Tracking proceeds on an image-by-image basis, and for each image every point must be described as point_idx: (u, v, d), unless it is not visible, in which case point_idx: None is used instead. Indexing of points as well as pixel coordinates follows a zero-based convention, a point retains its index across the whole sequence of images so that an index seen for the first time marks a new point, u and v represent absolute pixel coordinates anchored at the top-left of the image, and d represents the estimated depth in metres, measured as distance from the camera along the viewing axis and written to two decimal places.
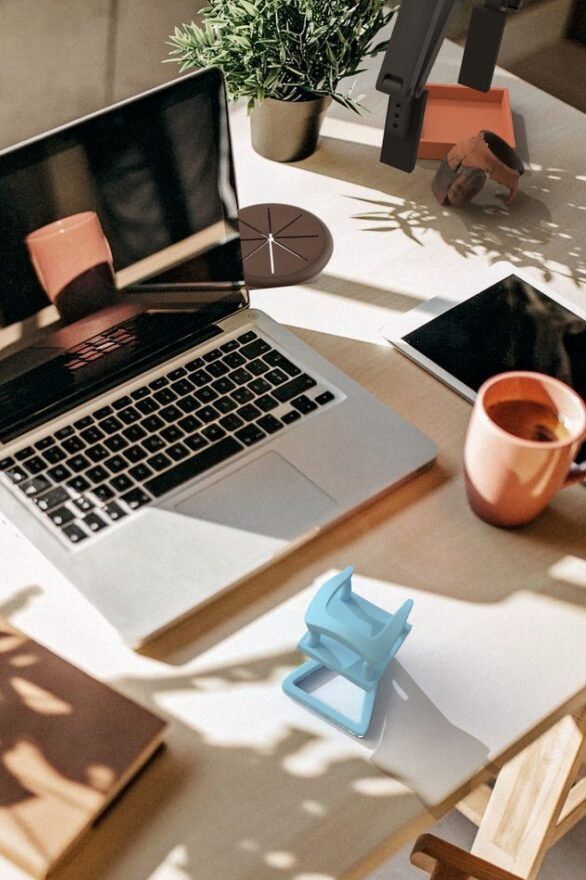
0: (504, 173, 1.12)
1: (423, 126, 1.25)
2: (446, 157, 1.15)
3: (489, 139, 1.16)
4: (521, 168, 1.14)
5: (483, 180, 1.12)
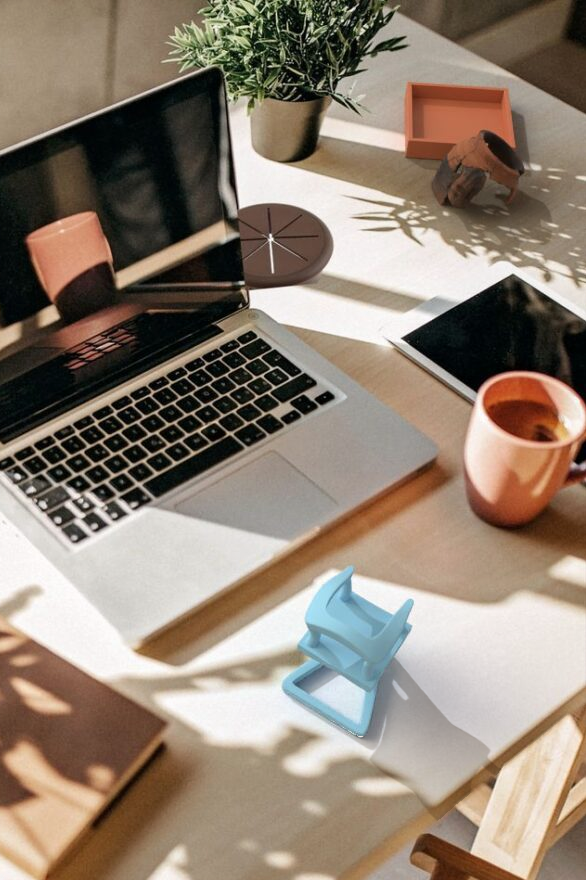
0: (504, 173, 1.12)
1: (423, 126, 1.25)
2: (446, 157, 1.15)
3: (489, 139, 1.16)
4: (521, 168, 1.14)
5: (483, 180, 1.12)
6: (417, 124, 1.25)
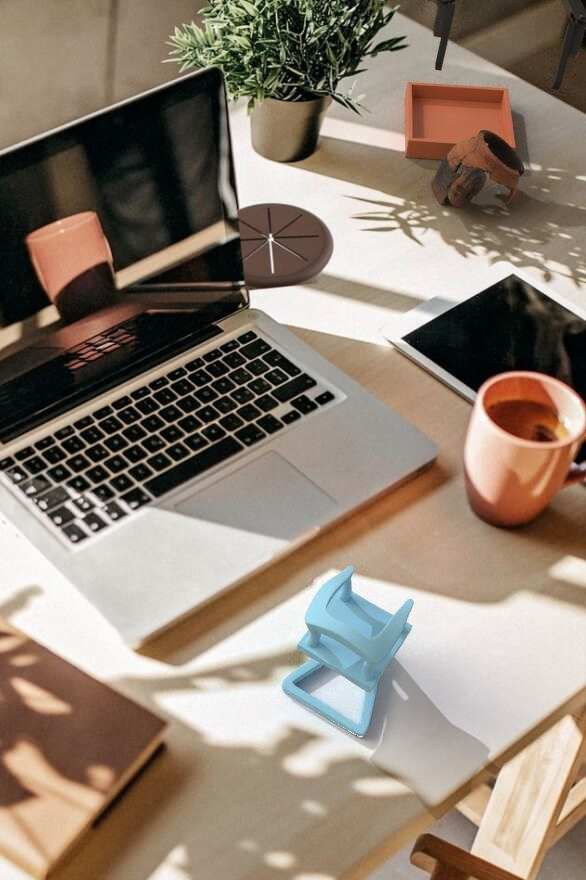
0: (504, 173, 1.12)
1: (423, 126, 1.25)
2: (446, 157, 1.15)
3: (489, 139, 1.16)
4: (521, 168, 1.14)
5: (483, 180, 1.12)
6: (417, 124, 1.25)
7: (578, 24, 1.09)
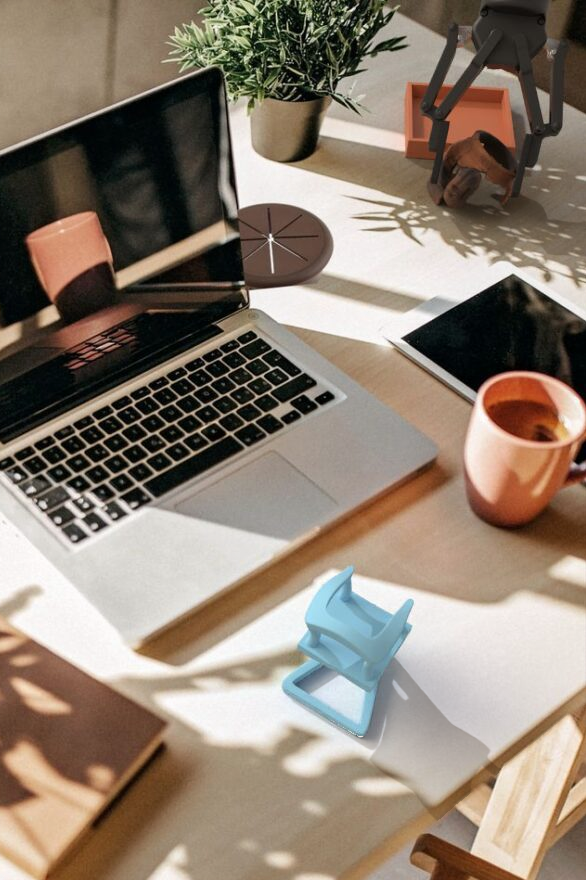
0: (500, 173, 1.12)
1: (423, 126, 1.25)
2: None
3: (485, 140, 1.16)
4: None
5: (478, 180, 1.12)
6: (417, 124, 1.25)
7: (534, 135, 1.10)
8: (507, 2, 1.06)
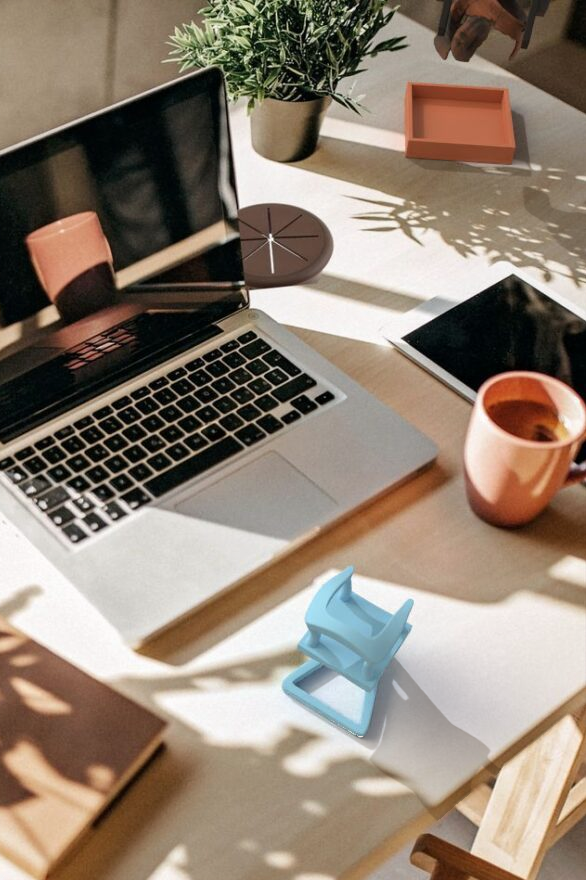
0: (509, 22, 1.08)
1: (423, 126, 1.25)
2: None
3: None
4: (526, 20, 1.11)
5: (487, 29, 1.08)
6: (417, 124, 1.25)
7: None
8: None
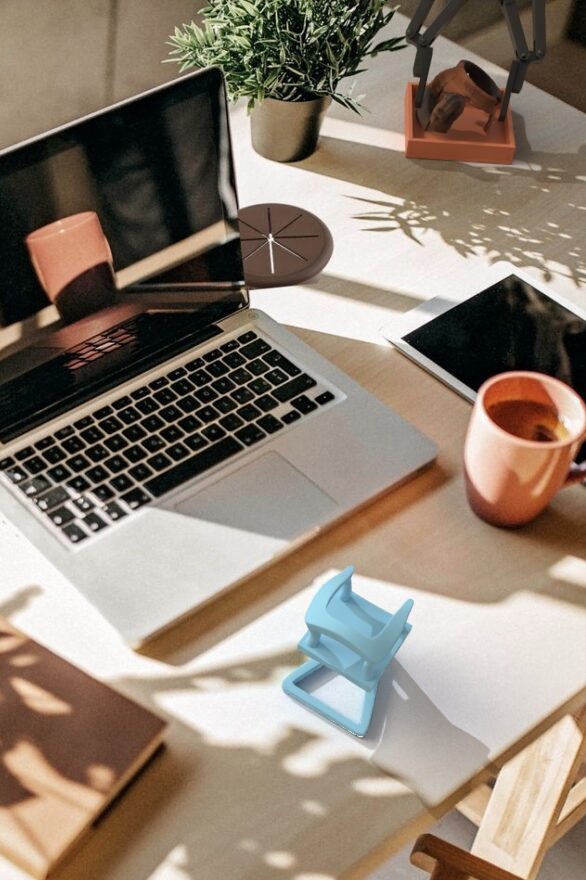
0: (482, 98, 1.20)
1: None
2: (429, 85, 1.23)
3: (470, 69, 1.23)
4: (499, 95, 1.22)
5: (462, 105, 1.20)
6: (417, 124, 1.25)
7: (520, 62, 1.18)
8: None
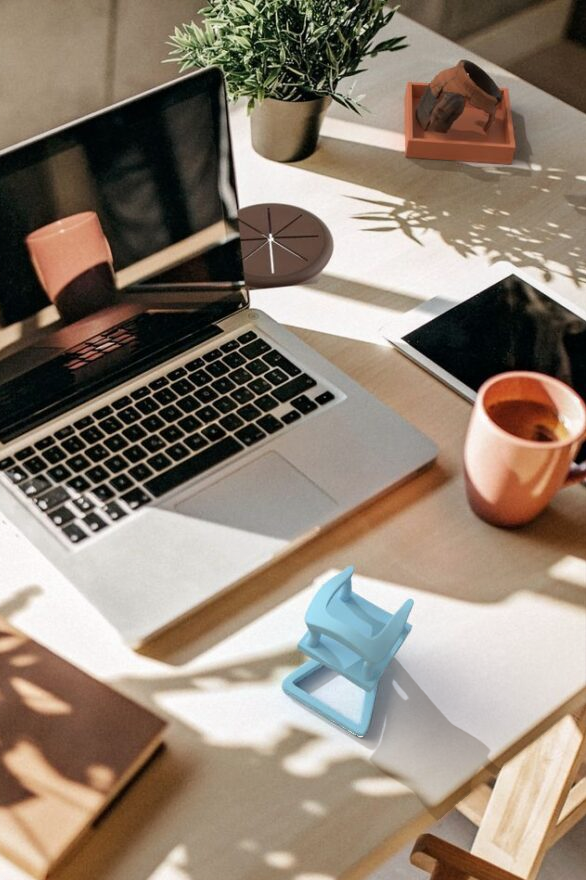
0: (482, 98, 1.20)
1: None
2: (429, 85, 1.23)
3: (470, 69, 1.23)
4: (499, 95, 1.22)
5: (462, 105, 1.20)
6: (417, 124, 1.25)
7: None
8: None
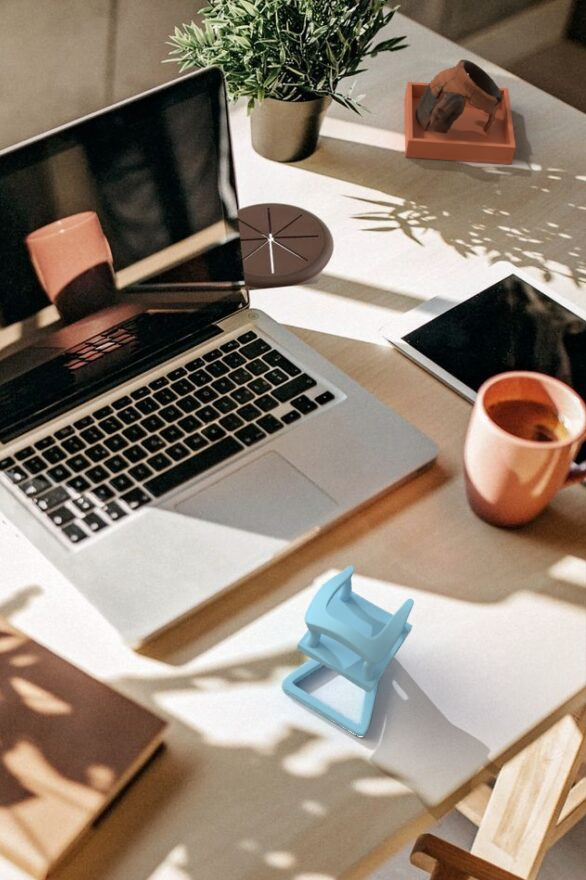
0: (482, 98, 1.20)
1: None
2: (429, 85, 1.23)
3: (470, 69, 1.23)
4: (499, 95, 1.22)
5: (462, 105, 1.20)
6: (417, 124, 1.25)
7: None
8: None
